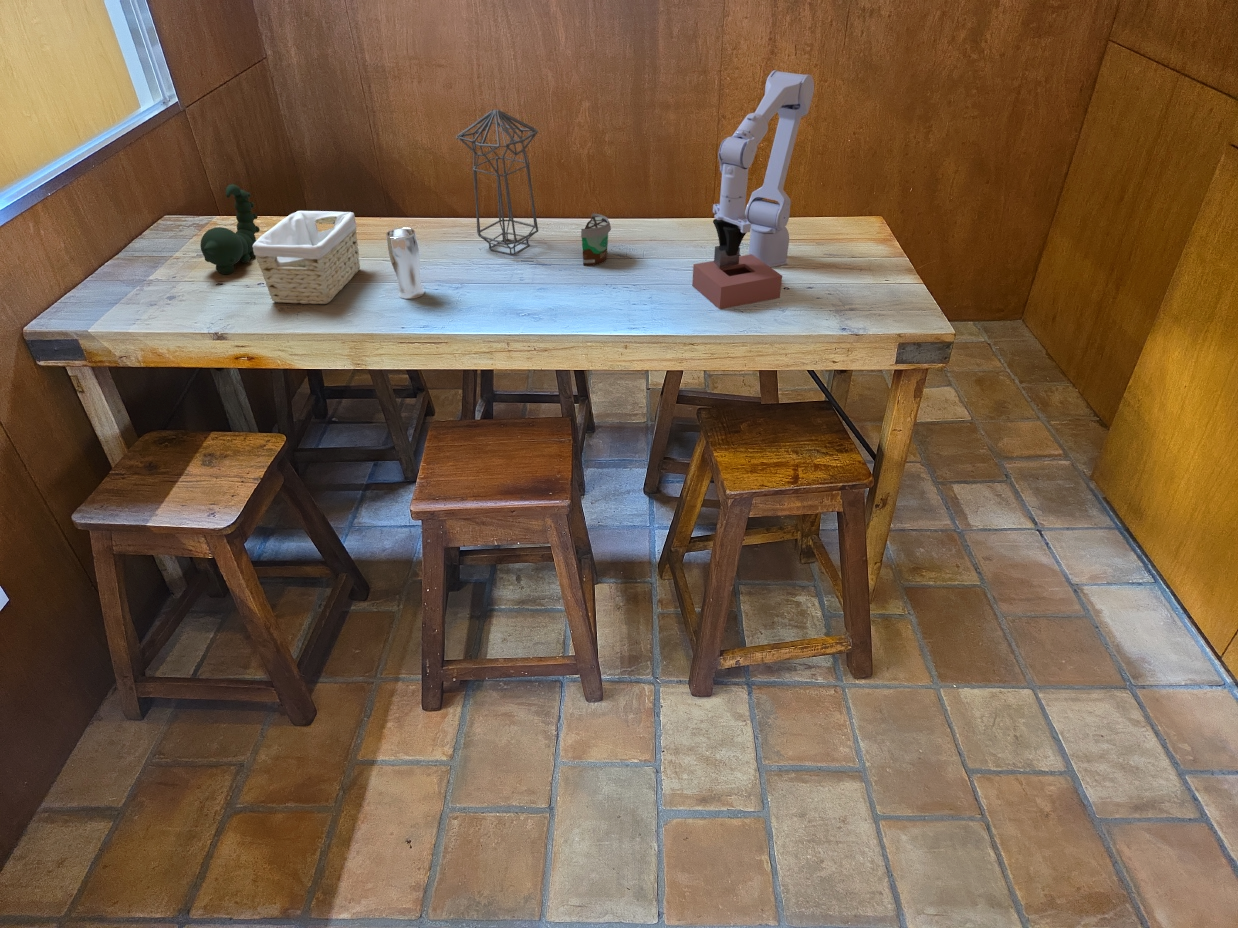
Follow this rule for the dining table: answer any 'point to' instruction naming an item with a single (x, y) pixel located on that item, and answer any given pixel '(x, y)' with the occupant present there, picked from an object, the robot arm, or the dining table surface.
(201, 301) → the dining table surface
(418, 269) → the beer glass
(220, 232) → the toy figurine
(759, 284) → the box
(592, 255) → the food container
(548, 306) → the dining table surface
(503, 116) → the geometric lantern
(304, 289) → the storage basket
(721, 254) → the grey rectangular block
